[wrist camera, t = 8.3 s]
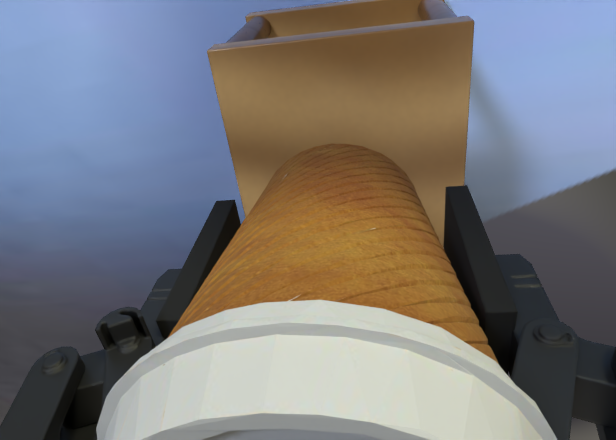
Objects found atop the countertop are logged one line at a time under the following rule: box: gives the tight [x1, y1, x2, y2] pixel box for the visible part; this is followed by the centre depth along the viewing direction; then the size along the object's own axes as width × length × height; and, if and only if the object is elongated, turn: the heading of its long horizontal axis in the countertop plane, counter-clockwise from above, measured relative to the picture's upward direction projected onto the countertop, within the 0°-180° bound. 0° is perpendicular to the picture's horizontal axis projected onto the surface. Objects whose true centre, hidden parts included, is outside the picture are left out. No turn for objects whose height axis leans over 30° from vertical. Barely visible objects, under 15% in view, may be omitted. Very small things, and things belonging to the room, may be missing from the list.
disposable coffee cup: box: [96, 144, 557, 440], centre depth 14 cm, size 10×10×12 cm
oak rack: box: [207, 0, 474, 246], centre depth 27 cm, size 12×12×10 cm
